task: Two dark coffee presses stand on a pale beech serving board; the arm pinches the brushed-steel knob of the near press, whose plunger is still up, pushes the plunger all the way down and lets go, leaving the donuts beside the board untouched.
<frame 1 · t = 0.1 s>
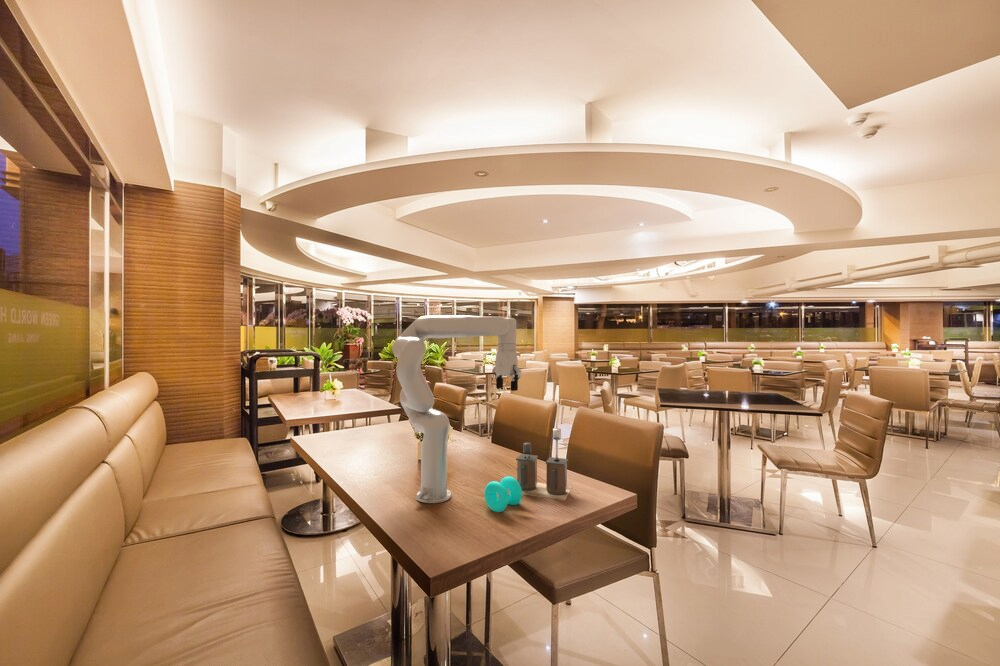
hand: (506, 389, 170), 37 cm above the table, tool pointing down, fingers open, 9 cm apart
plunger: (556, 449, 155), point 17 cm above the table, slide at 0.0 cm
near press: (556, 491, 154), resting on serving board
far press: (526, 487, 158), resting on serving board
serving board: (542, 492, 156), on the table
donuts: (503, 508, 142), on the table
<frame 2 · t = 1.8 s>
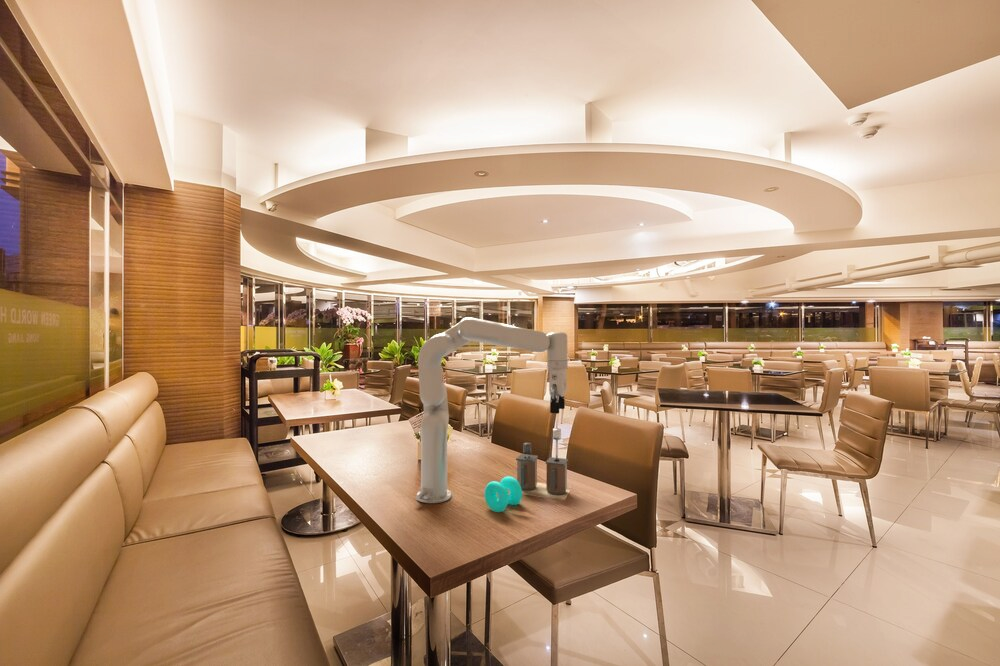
hand: (557, 410, 155), 31 cm above the table, tool pointing down, fingers open, 9 cm apart
nothing on the table moved.
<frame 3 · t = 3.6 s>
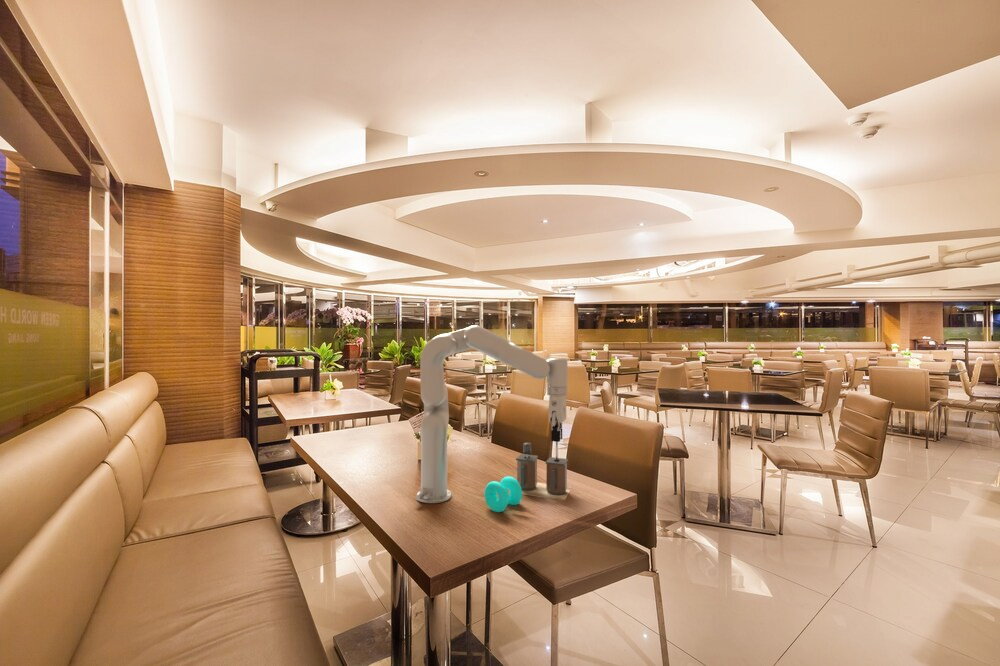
hand: (556, 439, 155), 21 cm above the table, tool pointing down, fingers closed on plunger, 3 cm apart
plunger: (556, 450, 155), point 17 cm above the table, slide at 0.0 cm, touching gripper
everything else where it was.
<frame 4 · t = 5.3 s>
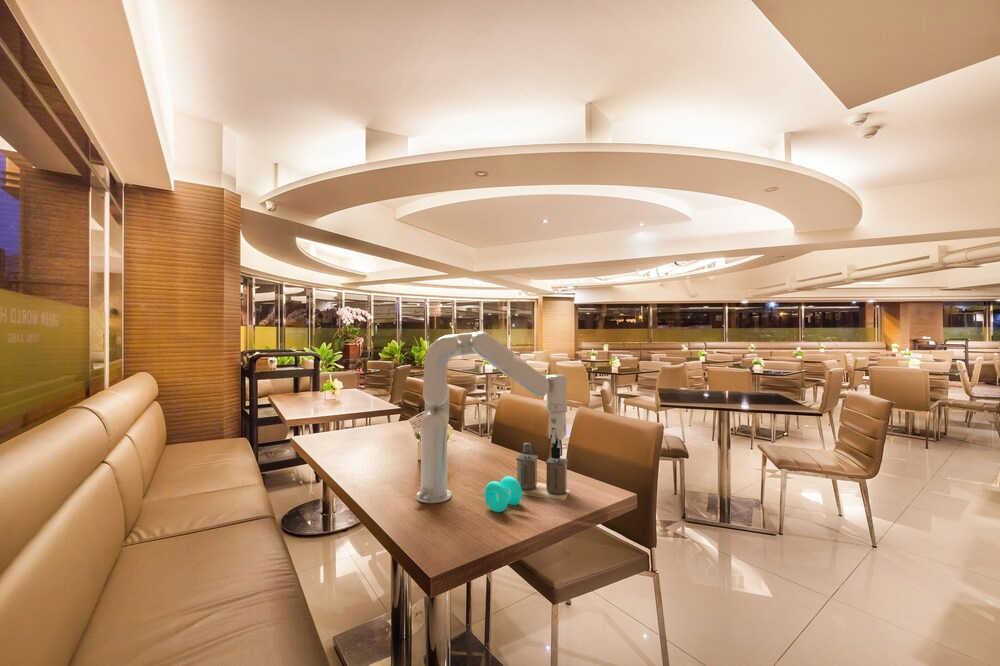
hand: (556, 456, 154), 14 cm above the table, tool pointing down, fingers closed on plunger, 3 cm apart
plunger: (556, 466, 154), point 10 cm above the table, slide at 6.3 cm, touching gripper
everything else where it was.
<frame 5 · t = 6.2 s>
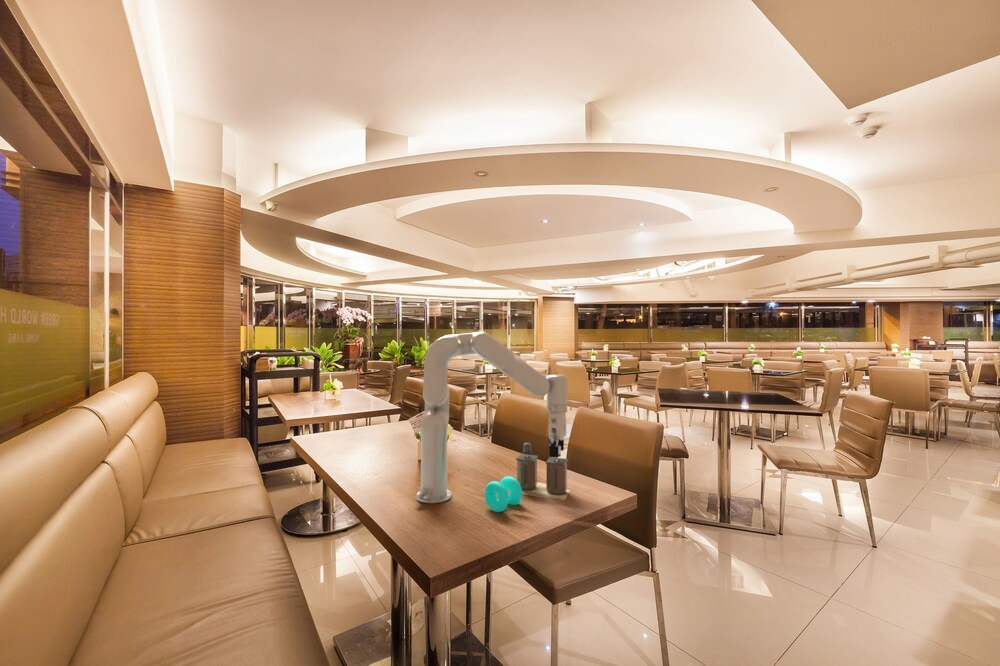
hand: (556, 453, 154), 15 cm above the table, tool pointing down, fingers open, 9 cm apart
plunger: (556, 466, 154), point 10 cm above the table, slide at 6.3 cm
everything else where it was.
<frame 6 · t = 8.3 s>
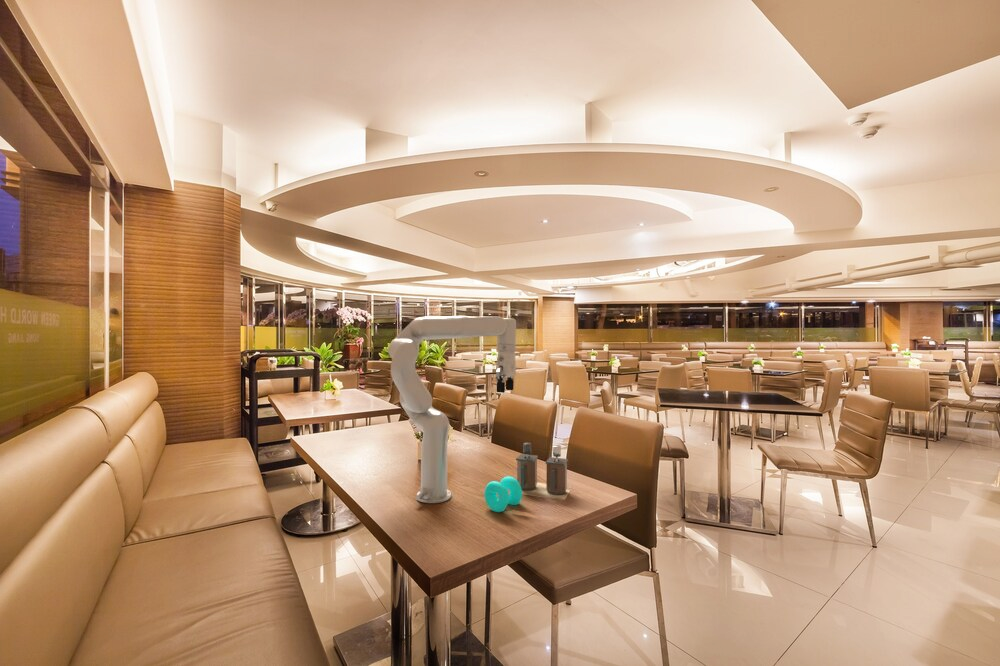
hand: (505, 391, 167), 37 cm above the table, tool pointing down, fingers open, 9 cm apart
nothing on the table moved.
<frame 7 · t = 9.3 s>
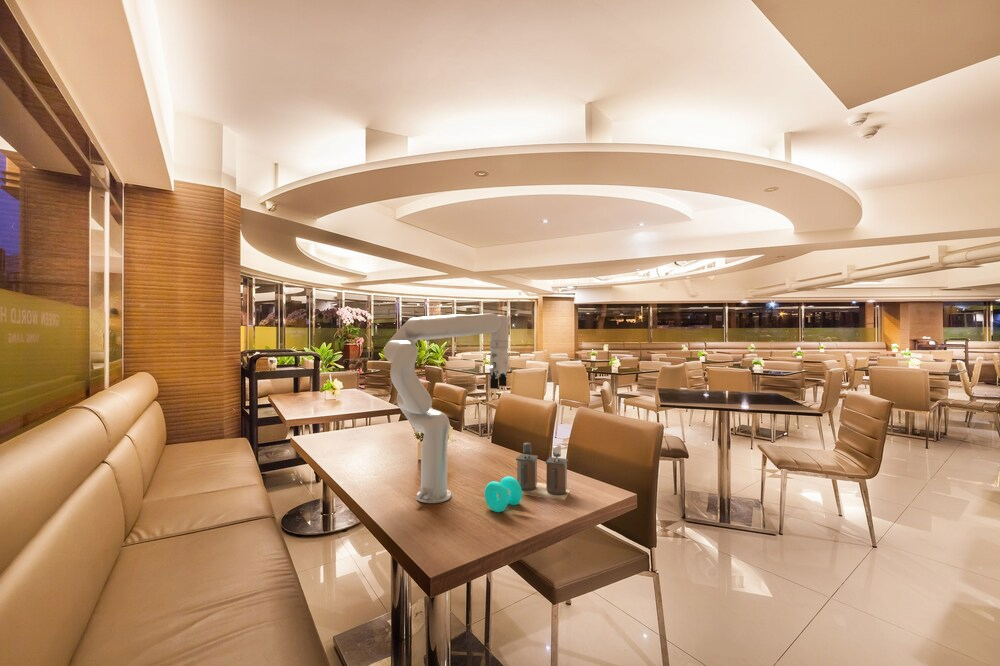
hand: (498, 387, 169), 38 cm above the table, tool pointing down, fingers open, 9 cm apart
nothing on the table moved.
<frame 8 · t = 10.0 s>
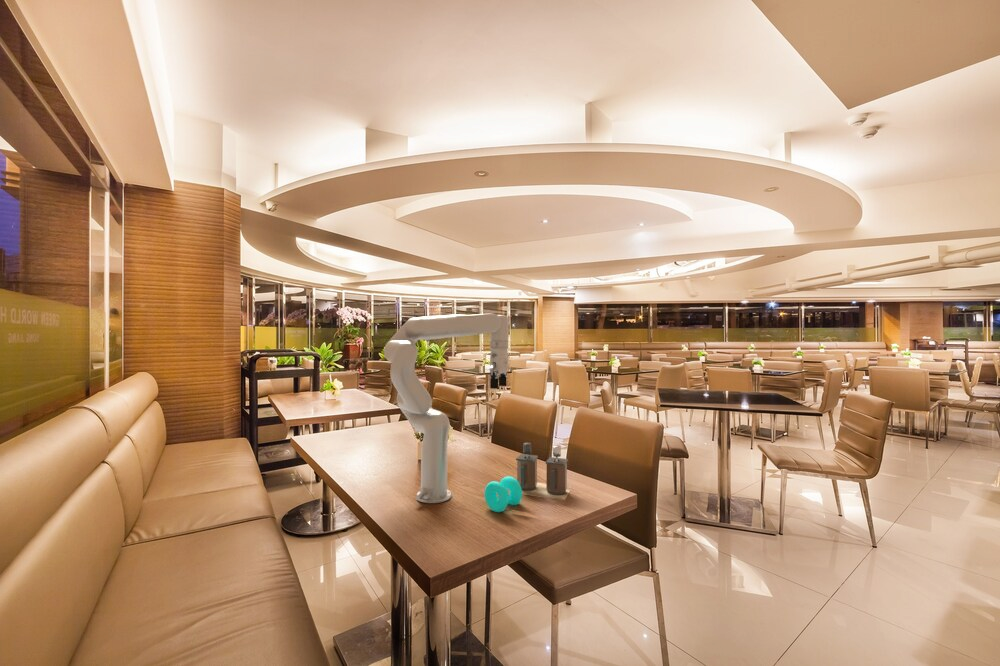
hand: (498, 387, 169), 38 cm above the table, tool pointing down, fingers open, 9 cm apart
nothing on the table moved.
at the end: plunger slide at 6.3 cm; the gripper is holding nothing; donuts moved 0.3 cm from its start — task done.
